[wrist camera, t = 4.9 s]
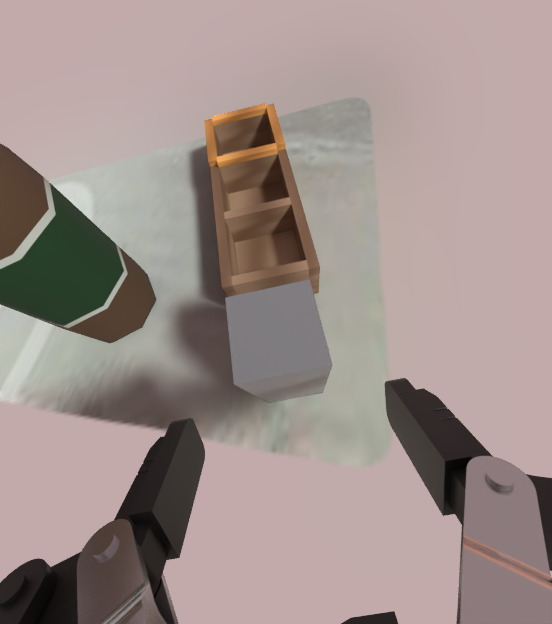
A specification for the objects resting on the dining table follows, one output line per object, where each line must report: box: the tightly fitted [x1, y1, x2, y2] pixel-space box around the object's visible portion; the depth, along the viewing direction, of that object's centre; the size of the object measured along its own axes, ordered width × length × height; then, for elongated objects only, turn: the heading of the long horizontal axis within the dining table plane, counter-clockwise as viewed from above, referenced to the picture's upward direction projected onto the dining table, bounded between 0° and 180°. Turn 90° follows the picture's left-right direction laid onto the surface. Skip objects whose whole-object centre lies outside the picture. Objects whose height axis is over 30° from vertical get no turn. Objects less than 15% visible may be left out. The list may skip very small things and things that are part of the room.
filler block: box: [225, 280, 332, 403], centre depth 15 cm, size 4×4×10 cm
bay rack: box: [205, 104, 320, 297], centre depth 24 cm, size 7×21×4 cm, turn 10°
